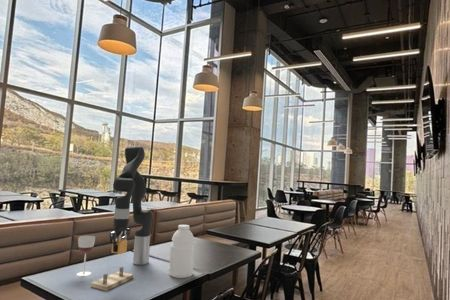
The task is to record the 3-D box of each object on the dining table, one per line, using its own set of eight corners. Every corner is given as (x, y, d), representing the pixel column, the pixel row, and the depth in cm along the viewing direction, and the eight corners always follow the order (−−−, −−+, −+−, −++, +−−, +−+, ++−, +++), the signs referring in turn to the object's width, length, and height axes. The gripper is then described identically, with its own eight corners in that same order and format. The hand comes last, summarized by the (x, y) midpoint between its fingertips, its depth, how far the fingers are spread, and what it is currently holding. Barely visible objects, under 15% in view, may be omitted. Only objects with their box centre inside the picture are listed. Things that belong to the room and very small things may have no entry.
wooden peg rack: (118, 274, 171) (119, 263, 172) (133, 278, 168) (133, 267, 168) (90, 286, 153) (91, 274, 153) (106, 290, 149) (107, 278, 150)
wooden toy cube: (118, 250, 160) (119, 238, 161) (126, 251, 158) (127, 239, 159) (111, 252, 155) (112, 240, 156) (119, 254, 154) (120, 241, 154)
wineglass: (75, 271, 172) (79, 235, 174) (92, 270, 175) (95, 235, 177) (74, 276, 165) (77, 239, 166) (92, 275, 168) (95, 238, 169)
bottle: (176, 280, 169) (179, 228, 171) (164, 272, 179) (167, 224, 181) (197, 275, 178) (200, 226, 179) (184, 268, 188) (187, 222, 190)
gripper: (124, 214, 166) (122, 246, 165) (106, 218, 153) (103, 252, 151) (136, 216, 164) (133, 248, 162) (118, 219, 150) (115, 255, 149)
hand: (118, 250), depth 157 cm, fingers closed on wooden toy cube, 5 cm apart
